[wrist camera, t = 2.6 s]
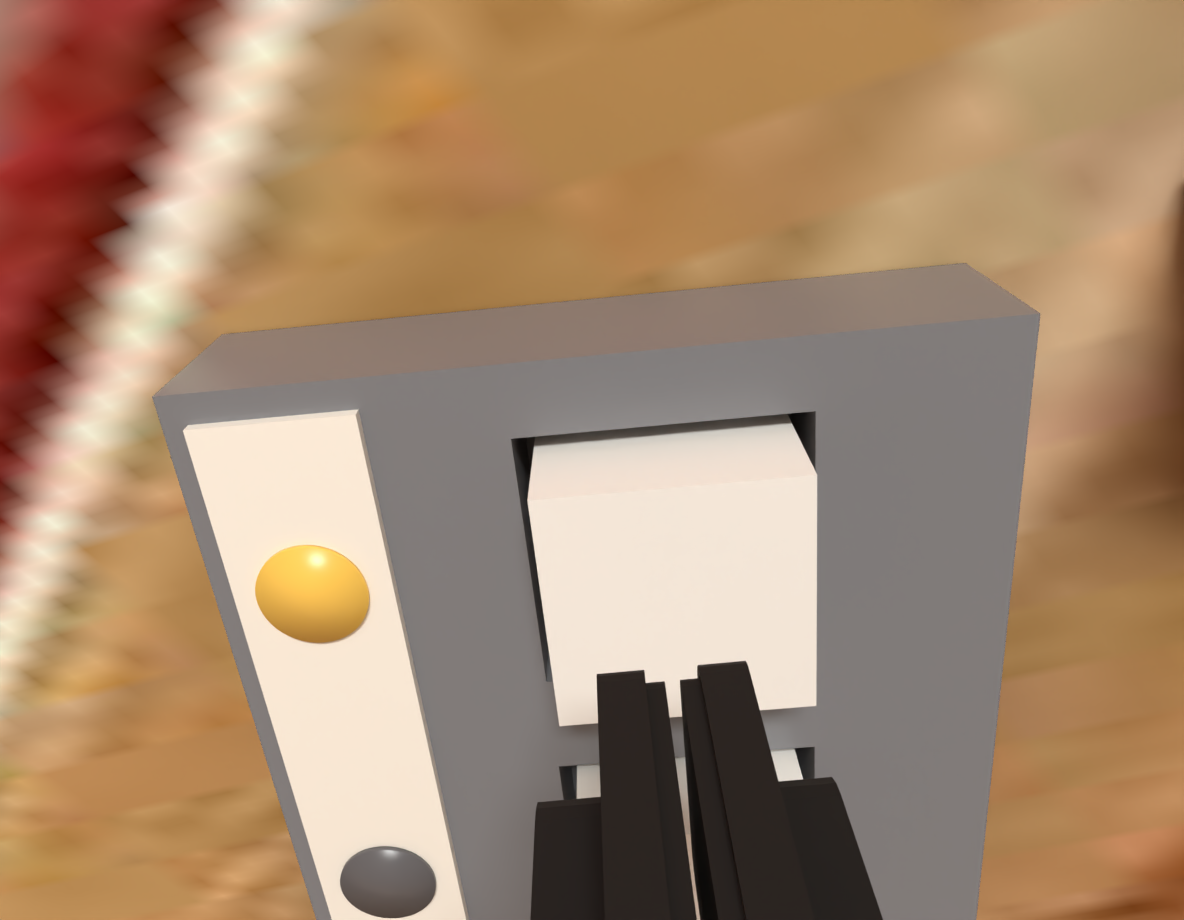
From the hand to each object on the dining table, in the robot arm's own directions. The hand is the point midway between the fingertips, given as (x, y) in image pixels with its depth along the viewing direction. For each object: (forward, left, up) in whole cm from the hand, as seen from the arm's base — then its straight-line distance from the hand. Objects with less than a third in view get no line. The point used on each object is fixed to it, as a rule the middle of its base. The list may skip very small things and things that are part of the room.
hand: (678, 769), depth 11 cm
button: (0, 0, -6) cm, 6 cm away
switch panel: (+1, +7, -8) cm, 10 cm away
